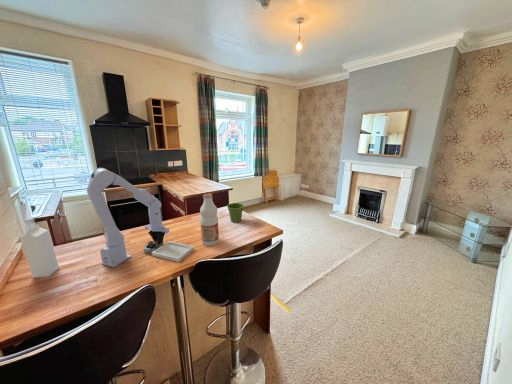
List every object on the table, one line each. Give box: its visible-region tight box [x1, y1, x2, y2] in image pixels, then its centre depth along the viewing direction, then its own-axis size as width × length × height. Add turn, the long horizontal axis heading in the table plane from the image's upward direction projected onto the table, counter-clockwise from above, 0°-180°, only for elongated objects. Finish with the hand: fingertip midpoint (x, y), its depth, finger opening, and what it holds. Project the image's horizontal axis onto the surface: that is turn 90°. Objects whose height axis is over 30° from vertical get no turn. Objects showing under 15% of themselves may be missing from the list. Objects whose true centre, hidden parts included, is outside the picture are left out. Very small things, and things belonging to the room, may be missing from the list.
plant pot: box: [226, 202, 245, 224], centre depth 145 cm, size 12×12×11 cm
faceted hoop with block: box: [143, 239, 164, 255], centre depth 111 cm, size 11×7×3 cm, turn 161°
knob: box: [147, 240, 154, 248], centre depth 109 cm, size 3×3×4 cm
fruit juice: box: [199, 193, 220, 247], centre depth 114 cm, size 9×9×28 cm
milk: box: [19, 223, 60, 279], centre depth 88 cm, size 6×6×22 cm
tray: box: [151, 240, 195, 263], centre depth 107 cm, size 12×16×2 cm
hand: (158, 242), depth 114 cm, fingers closed on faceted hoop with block, 2 cm apart
